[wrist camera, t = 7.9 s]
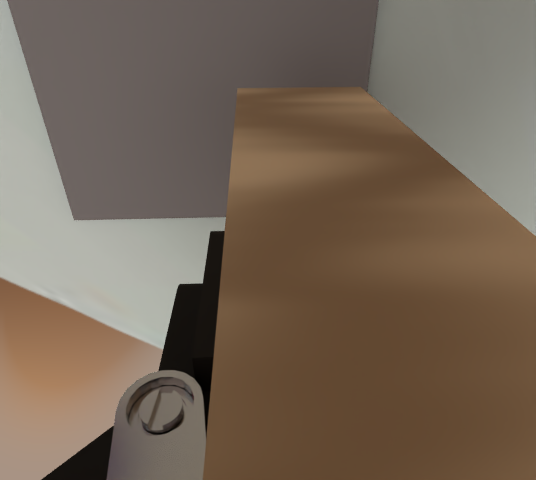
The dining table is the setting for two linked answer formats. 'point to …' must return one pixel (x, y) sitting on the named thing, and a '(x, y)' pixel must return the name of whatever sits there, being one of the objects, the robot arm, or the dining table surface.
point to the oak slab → (366, 305)
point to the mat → (173, 88)
